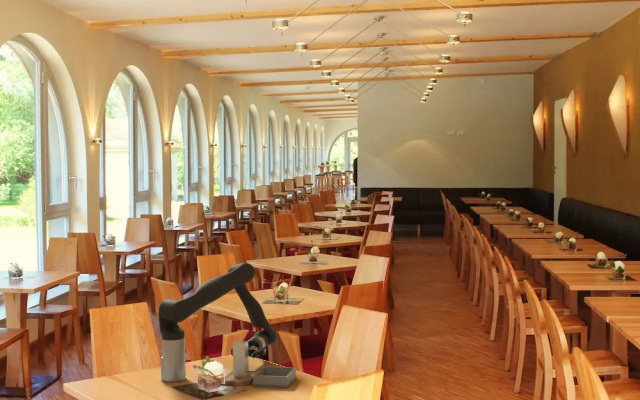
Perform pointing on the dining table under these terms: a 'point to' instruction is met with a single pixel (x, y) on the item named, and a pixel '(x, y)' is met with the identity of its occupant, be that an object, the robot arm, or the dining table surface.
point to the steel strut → (240, 359)
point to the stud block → (240, 379)
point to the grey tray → (274, 377)
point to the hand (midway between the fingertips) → (243, 355)
